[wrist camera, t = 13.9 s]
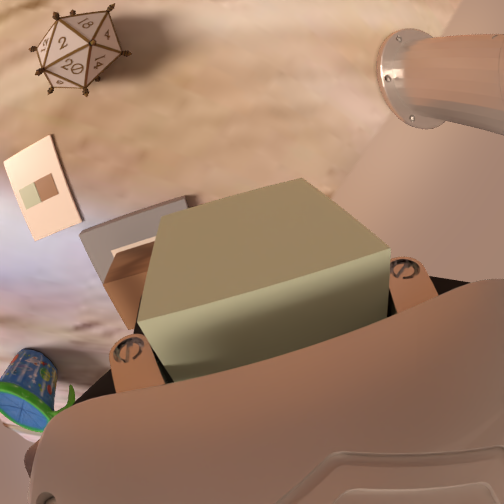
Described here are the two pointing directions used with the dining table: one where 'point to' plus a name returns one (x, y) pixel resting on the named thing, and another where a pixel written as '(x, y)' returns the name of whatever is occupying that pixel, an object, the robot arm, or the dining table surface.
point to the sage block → (259, 279)
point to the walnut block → (128, 281)
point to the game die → (78, 49)
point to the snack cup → (30, 391)
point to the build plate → (125, 233)
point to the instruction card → (42, 189)
